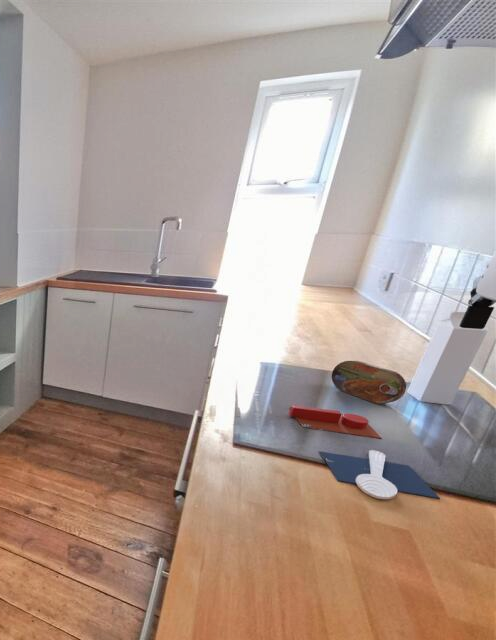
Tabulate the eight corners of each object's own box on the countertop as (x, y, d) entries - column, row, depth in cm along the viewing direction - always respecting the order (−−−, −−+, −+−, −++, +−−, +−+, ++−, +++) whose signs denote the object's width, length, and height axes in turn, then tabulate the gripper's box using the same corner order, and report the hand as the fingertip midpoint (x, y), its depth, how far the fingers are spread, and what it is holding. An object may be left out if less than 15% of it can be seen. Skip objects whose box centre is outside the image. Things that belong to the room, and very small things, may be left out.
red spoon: (361, 421, 93) (364, 412, 92) (369, 430, 89) (374, 420, 88) (286, 411, 97) (290, 402, 96) (292, 419, 93) (295, 410, 92)
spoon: (395, 457, 79) (396, 455, 79) (397, 504, 67) (398, 502, 67) (358, 447, 82) (359, 445, 82) (354, 490, 70) (355, 488, 70)
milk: (450, 405, 100) (496, 317, 91) (418, 401, 102) (460, 314, 93) (435, 395, 105) (477, 310, 96) (405, 391, 107) (444, 308, 98)
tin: (326, 385, 111) (337, 356, 108) (334, 384, 112) (345, 355, 109) (391, 409, 98) (405, 377, 95) (400, 408, 99) (414, 375, 96)
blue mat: (408, 466, 77) (408, 465, 77) (439, 499, 69) (440, 498, 69) (318, 452, 82) (319, 451, 82) (338, 481, 73) (338, 480, 73)
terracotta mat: (360, 417, 95) (361, 416, 95) (381, 438, 86) (381, 437, 86) (289, 407, 99) (289, 407, 99) (302, 427, 91) (302, 426, 91)
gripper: (633, 234, 56) (562, 353, 62) (532, 227, 70) (484, 324, 77) (556, 233, 58) (496, 348, 65) (474, 226, 73) (432, 321, 80)
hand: (489, 335), depth 71 cm, fingers open, 9 cm apart
